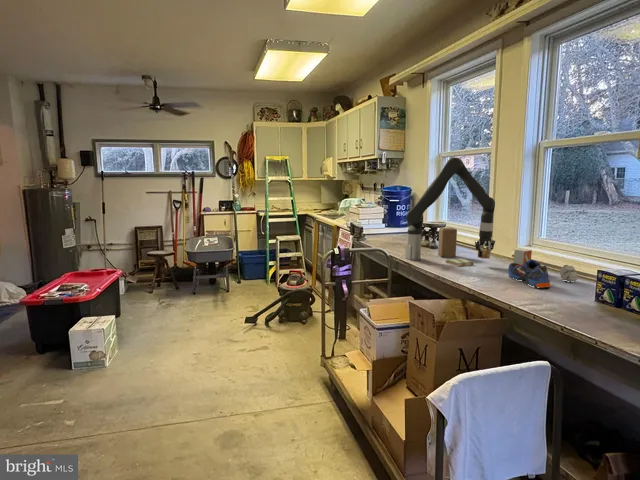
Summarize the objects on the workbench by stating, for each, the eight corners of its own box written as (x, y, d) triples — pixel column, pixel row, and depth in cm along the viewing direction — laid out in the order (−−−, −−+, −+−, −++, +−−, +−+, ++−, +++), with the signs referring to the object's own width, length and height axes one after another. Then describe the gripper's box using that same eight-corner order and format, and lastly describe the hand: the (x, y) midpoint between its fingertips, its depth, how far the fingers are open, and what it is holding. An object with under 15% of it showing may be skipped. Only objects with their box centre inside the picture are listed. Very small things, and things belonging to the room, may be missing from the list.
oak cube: (483, 258, 256) (483, 250, 255) (477, 257, 261) (478, 249, 260) (489, 258, 258) (490, 250, 257) (484, 256, 262) (484, 249, 262)
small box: (522, 273, 241) (524, 251, 239) (512, 271, 246) (514, 249, 244) (530, 271, 245) (532, 249, 243) (520, 269, 251) (521, 248, 249)
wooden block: (456, 257, 287) (457, 229, 284) (441, 257, 287) (442, 229, 284) (451, 255, 297) (453, 227, 294) (437, 254, 297) (439, 227, 294)
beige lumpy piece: (573, 284, 222) (566, 268, 228) (581, 279, 217) (573, 262, 222) (563, 285, 221) (556, 268, 226) (571, 279, 216) (564, 263, 221)
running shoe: (521, 274, 238) (522, 253, 236) (559, 289, 207) (562, 265, 205) (501, 275, 237) (503, 253, 235) (537, 290, 205) (539, 265, 203)
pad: (457, 266, 259) (457, 263, 259) (445, 262, 270) (445, 259, 270) (473, 265, 263) (473, 261, 263) (461, 261, 274) (461, 258, 274)
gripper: (480, 231, 250) (478, 258, 253) (499, 230, 255) (497, 257, 258) (472, 229, 257) (470, 256, 260) (491, 228, 262) (488, 255, 265)
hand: (483, 256), depth 259 cm, fingers closed on oak cube, 5 cm apart
